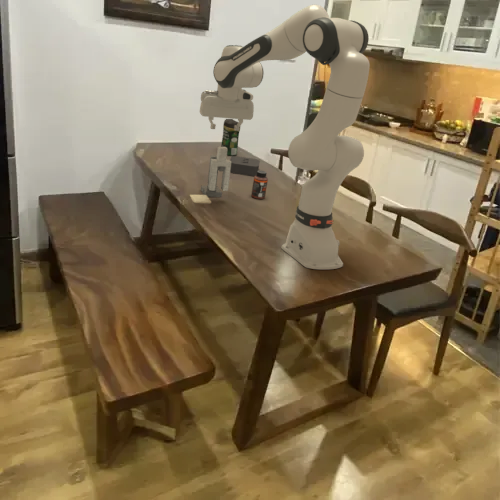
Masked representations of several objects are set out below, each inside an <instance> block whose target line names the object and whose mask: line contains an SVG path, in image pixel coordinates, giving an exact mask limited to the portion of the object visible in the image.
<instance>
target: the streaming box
mask: <svg viewBox="0 0 500 500" xmlns="http://www.w3.org/2000/svg"><path fill="white" fill-rule="evenodd" d="M229 160H230V161H231V169H230V174H231V173H232V174H237V175H244V176H250V177H255V176H256V175H257V171H260V162H261V161H260V160H259V159H257V158H252V157H251V158H250V157H245V156H237V155H234V156H230V159H229Z"/></svg>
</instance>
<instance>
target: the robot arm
mask: <svg viewBox="0 0 500 500" xmlns="http://www.w3.org/2000/svg"><path fill="white" fill-rule="evenodd" d="M369 38H370V37H369V31H368V29H367V28H366V27H365V25H363V24H362V23H360V22H358V21H355V20H349V19H344V18H340V17H330V15H329V13H328V12H327V10H326V9H325V8H324V7H322V6H321V5H319V4H310V5H308V6H306V7H304V8H301V10H298V11H297V12H295V13H294V14H292V15H291V16H290V17H289V18H287V19H286V20H285V21H283V22H282V23H280V24H279V25H278V26H276V27H275V28H273V29H271V30H270V31H267V32H266V33H264V34H263V35H260V36H258V37H257V38H255V39H253V40H252V41H250V42H248V43H247V44H246V45H244V46H242V45H239V44H238V45H237V44H235V45H232V44H230V45H226V46H224V47H223V49H222V52H221V56H220V57H219V59H218V60H217V61H216V62H215V64H214V67H213V78H214V80H215V82H216V83H217V90H209V89H206V90H204V91H202V93H200V94H201V95H200V101H201V102H200V107H199V113H200V115H201V116H202V117H208V120H209V123H210V129H211V130H216V127H217V126H216V125H217V124H216V123H214V122H213V121H214V118H220V119H233V120H237V122H238V124H237V125H235V126H234V127H235V128H234V130H235V131H239V127H240V128H241V127H242V124H243V123H244V121H245V120H246V121H248V120H249V121H250V120H252V119H253V117H254V108H255V107H254V102H253V100H254V94H252V93H251V92H249V91H248V90H245V89H250V88H257V87H258V86H259V85H261V83H262V81H263V79H264V75H265V73H264V67H263V65H262V62H266V61H289V60H292V59H295V58H298V57H300V56H302V55H304V54H305V53H306V52H307V54H308V55H309V56H311V57H312V58H314V59H316V60H317V61H318V62H319V63H320V64H321V65H323V66H326V65H329V67H330V74H329V78H328V81H327V85H326V88H325V91H324V92H325V93H324V96H323V98H322V101H321V105H320V107H319V111H318V112H317V115H316V116H315V118H314V120H313V121H312V122H311V124H310V125H308V127H307V128H306V129H305V130H303V132H301V133H300V134H298V135H297V136H295V137H294V138H293V139H292V140H291V142H290V143H289V146H288V151H287V153H288V154H287V155H288V159H289V161H290V163H291V165H292V166H293V167H294V168H298V169H302V170H305V171H317V172H316V173H315V175H313V176H312V177H311V178H310V179H308V180H306V181H305V182H304V184H303V185H302V187H301V191H300V197H299V202H298V206H297V207H296V209H295V214H294V215H295V216H294V218H295V219H294V221H293V222H292V223H291V224H290V225H289V228H288V232H287V237H286V239H285V240H286V241H285V243H283V244H282V245H281V249H282V251H284V252H285V253H287V254H288V255H289V256H290V257H292V258H293V259H294V260H295V261H297V262H298V263H299V264H301V265H302V266H304V267H305V268H307V269H313V270H334V269H340V268H342V267H344V262H343V261H342V259H341V257H340V256H339V246H340V240H339V239H337V238H336V235H335V232H334V231H333V227H332V226H333V224H334V220H333V212H332V211H333V207H334V204H335V199H336V196H337V193H338V190H339V188H340V186H341V185H342V184H343V181H344V180H345V178H347V176H348V175H349V174H350V173H351V172H353V170H355V169H356V168H358V167H359V166H360V165H361V163H362V162H363V159H364V155H365V150H364V146H363V144H362V142H361V140H359V139H358V138H354V137H351V136H349V135H340V133H342V132H343V131H344V130H346V129H347V128H349V127H351V126H352V125H353V124H354V123H355V122H356V121H357V117H358V115H359V110H360V108H361V105H362V102H363V99H364V95H365V92H366V88H367V85H368V81H369V80H368V79H369V74H370V67H371V65H370V64H371V63H370V61H369V59H368V57H367V56H366V55H364V54H363V53H364V52H365V51H366V50H367V48H368V46H369V41H370V40H369ZM239 132H240V131H239Z"/></svg>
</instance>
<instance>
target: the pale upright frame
mask: <svg viewBox="0 0 500 500" xmlns="http://www.w3.org/2000/svg"><path fill="white" fill-rule="evenodd" d="M216 153H217V154H216V155H217V159H211V166H210V175H209V174H208V175H209V185H208V184H207V185H208V188H209V190H210V191H215V185H216V176H217V167H218V166H222V167H224V171H222V177H221V187H220V188H221V189H220V190H221V191H223V192H229V184H230V176H231V172H230V169H231V161H230V159H227V157H228V155H227V148H226V147H221V146H217V151H216ZM217 177H218V176H217ZM216 186H217V185H216Z"/></svg>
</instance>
